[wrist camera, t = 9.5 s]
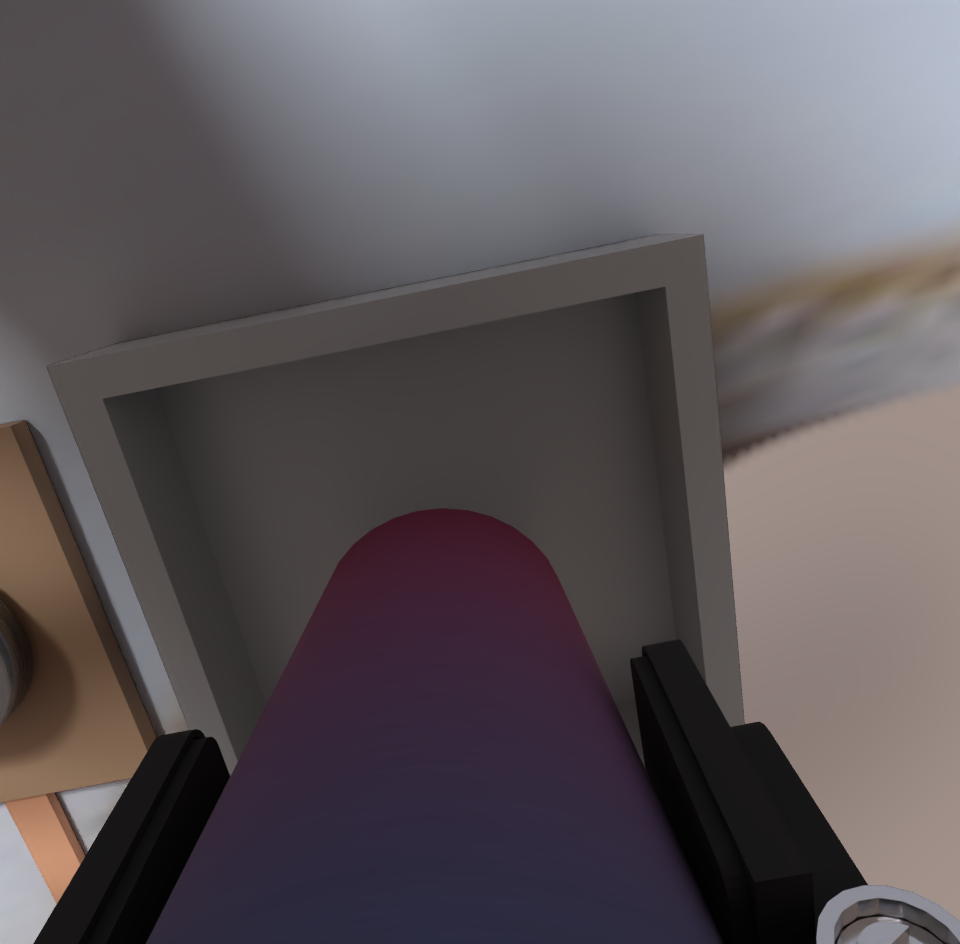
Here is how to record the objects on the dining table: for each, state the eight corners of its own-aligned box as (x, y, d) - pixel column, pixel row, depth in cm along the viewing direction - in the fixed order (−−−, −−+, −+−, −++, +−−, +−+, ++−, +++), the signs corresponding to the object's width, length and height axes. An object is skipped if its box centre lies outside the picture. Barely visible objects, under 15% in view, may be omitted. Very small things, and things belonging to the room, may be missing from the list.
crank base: (-299, 484, 17) (-325, 492, 16) (25, 419, 17) (10, 425, 16) (41, 1065, 24) (30, 1085, 23) (274, 1023, 24) (270, 1042, 23)
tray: (116, 343, 16) (46, 366, 13) (658, 234, 16) (703, 234, 13) (271, 777, 20) (242, 865, 18) (706, 696, 20) (748, 772, 17)
